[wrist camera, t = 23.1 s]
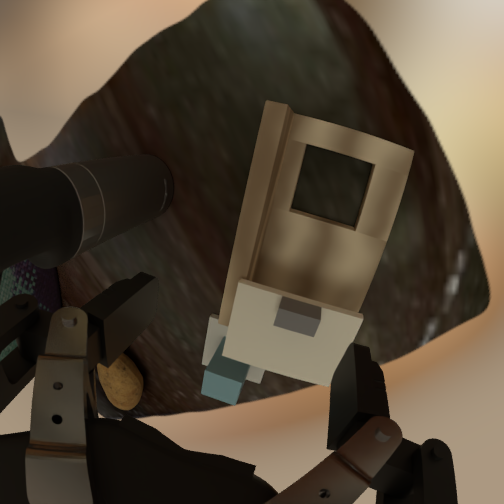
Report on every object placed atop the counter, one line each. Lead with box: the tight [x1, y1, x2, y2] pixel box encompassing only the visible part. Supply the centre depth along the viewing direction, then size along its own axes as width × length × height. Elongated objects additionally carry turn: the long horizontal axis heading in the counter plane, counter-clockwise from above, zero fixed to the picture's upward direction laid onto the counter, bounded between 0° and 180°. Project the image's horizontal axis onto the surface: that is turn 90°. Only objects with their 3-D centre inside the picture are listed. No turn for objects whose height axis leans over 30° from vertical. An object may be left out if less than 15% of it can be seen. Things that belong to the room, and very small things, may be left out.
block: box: [201, 336, 250, 405], centre depth 40 cm, size 5×5×8 cm
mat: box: [202, 313, 265, 384], centre depth 44 cm, size 10×10×1 cm
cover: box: [222, 278, 363, 387], centre depth 29 cm, size 13×10×3 cm
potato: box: [97, 353, 143, 410], centre depth 49 cm, size 10×14×8 cm
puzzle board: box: [218, 100, 414, 327], centre depth 31 cm, size 16×24×8 cm, turn 167°
